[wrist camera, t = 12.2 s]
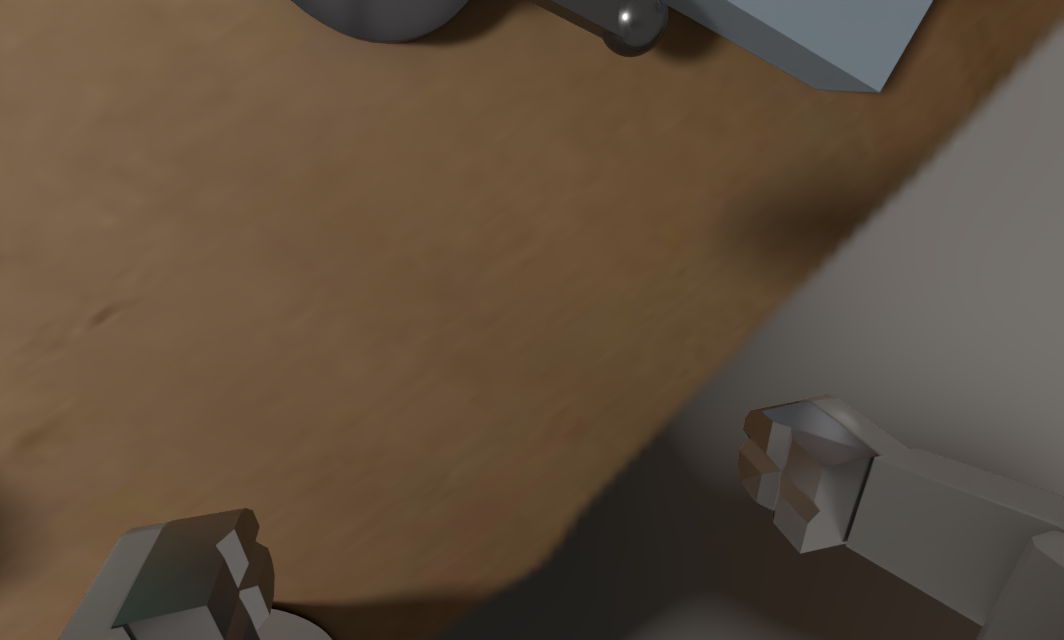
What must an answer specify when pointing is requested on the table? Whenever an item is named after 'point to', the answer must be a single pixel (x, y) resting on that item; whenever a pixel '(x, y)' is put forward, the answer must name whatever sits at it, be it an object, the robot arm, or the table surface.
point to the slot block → (817, 35)
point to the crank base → (383, 17)
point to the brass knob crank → (616, 21)
